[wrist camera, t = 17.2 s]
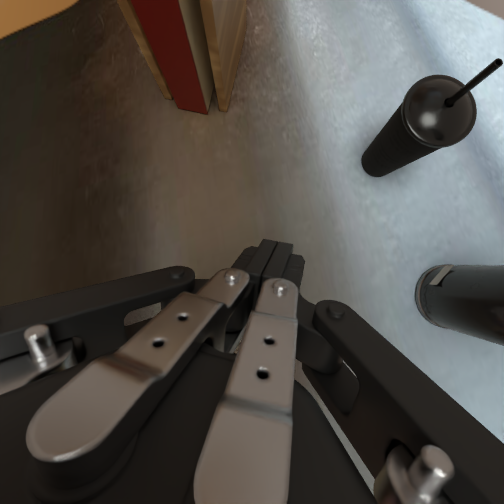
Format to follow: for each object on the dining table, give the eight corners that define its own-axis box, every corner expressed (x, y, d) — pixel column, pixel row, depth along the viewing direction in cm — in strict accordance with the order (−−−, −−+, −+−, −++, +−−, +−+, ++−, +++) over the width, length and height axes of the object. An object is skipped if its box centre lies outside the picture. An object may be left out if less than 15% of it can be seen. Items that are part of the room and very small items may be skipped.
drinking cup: (348, 181, 41) (444, 99, 21) (356, 134, 41) (457, 8, 21) (397, 190, 41) (540, 116, 21) (404, 142, 41) (551, 25, 21)
